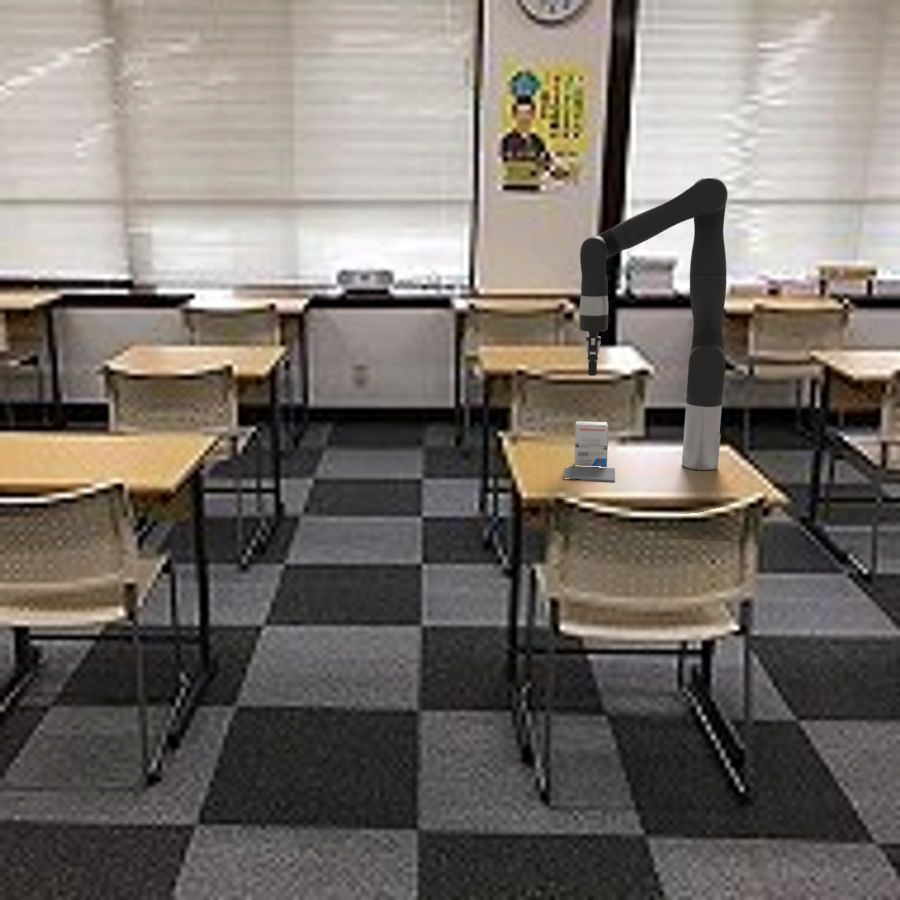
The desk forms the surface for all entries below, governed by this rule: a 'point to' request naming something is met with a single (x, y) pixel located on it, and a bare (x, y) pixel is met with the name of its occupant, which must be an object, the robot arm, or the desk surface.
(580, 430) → the ink box
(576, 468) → the mat
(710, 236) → the robot arm
